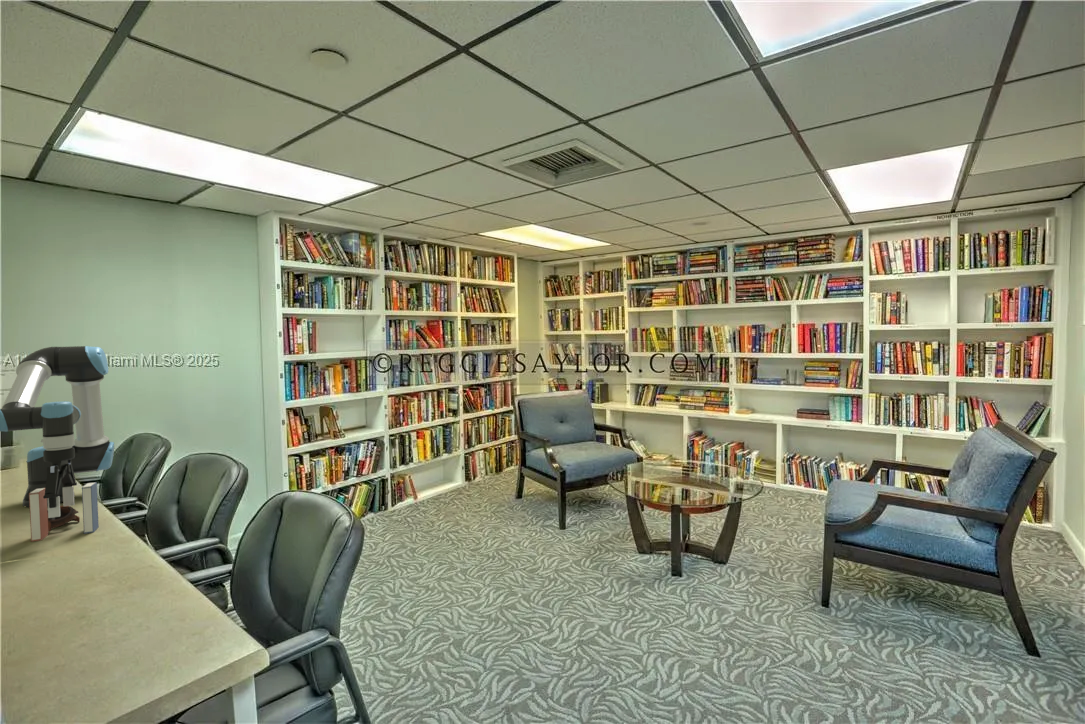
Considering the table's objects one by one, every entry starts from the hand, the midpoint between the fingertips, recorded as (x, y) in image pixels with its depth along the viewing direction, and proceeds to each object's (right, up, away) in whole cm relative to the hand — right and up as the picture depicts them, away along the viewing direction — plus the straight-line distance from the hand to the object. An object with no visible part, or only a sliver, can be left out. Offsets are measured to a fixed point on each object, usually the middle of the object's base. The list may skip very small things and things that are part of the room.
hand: (61, 511), depth 167 cm
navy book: (+4, -9, +6) cm, 11 cm away
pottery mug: (-11, -10, +11) cm, 18 cm away
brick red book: (-7, -9, 0) cm, 11 cm away
